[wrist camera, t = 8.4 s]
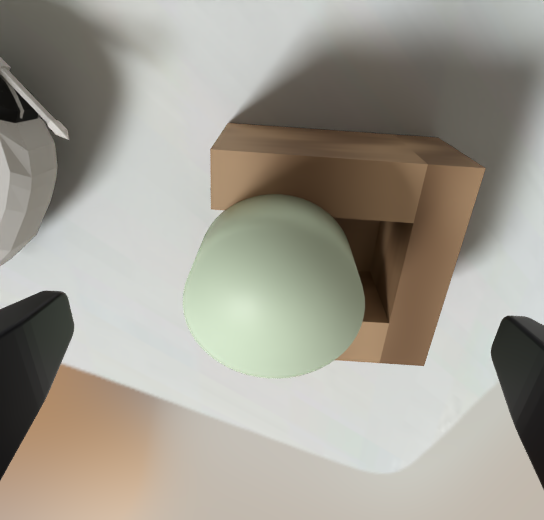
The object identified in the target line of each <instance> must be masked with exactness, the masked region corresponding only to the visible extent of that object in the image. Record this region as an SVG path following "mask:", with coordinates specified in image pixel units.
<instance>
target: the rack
mask: <svg viewBox="0 0 544 520" xmlns="http://www.w3.org/2000/svg"><path fill="white" fill-rule="evenodd" d="M210 151H211V209H214V210H227V209H228V208H229V207H231V206H233V205H234V204H236V203H238V202H240V201H243V200H245V199H248V198H251V197H255V196H259V195H267V194H283V195H290V196H295V197H298V198H302V199H305V200H307V201H310V202H312V203H314V204H316V205H317V206H319V207H321V208H322V209H323V210H325V211H326V212H327V213H329V214H330V215H331V216H332V217H333V218H334V219H335V220H336V221H337V223H338V224H339V225H340V227H341V228H342V230H343V231H344V233H345V235H346V237H347V240H348V242H349V245H350V248H351V251H352V255H353V258H354V261H355V264H356V267H357V271H358V274H359V277H360V280H361V283H362V287H363V291H364V296H365V311H364V318H363V321H362V325H361V328H360V330H359V332H358V334H357V336H356V338H355V339H354V341H353V342H352V344H351V345H350V346H349V347H348V348H347V350H346V351H345V352H344V353H343V354H341V355H340V356H339V357H338V358H337V359H335V360H342V361H357V362H372V363H388V364H403V365H418V366H424V364H425V361H426V358H427V355H428V351H429V348H430V345H431V342H432V338H433V335H434V332H435V329H436V326H437V322H438V319H439V316H440V313H441V310H442V306H443V303H444V300H445V297H446V294H447V290H448V287H449V284H450V281H451V278H452V274H453V271H454V268H455V265H456V262H457V258H458V255H459V252H460V249H461V246H462V242H463V239H464V236H465V233H466V230H467V226H468V223H469V220H470V217H471V214H472V210H473V207H474V204H475V201H476V198H477V194H478V191H479V188H480V185H481V182H482V178H483V175H484V172H485V169H486V168H484V167H483V166H481V165H480V164H478V163H477V162H475V161H474V160H472V159H471V158H469V157H467V156H466V155H464V154H463V153H461V152H460V151H458V150H457V149H455V148H454V147H452V146H450V145H449V144H447V143H446V142H444V141H443V140H441V139H440V138H438V137H423V136H409V135H395V134H380V133H366V132H351V131H337V130H323V129H308V128H294V127H279V126H265V125H251V124H236V123H228V124H227V125H226V127H225V128H224V130H223V131H222V133H221V134H220V136H219V137H218V139H217V140H216V142H215V143H214V145H213V146H212V148H211V149H210Z"/></svg>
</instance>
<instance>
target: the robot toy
mask: <svg viewBox="0 0 544 520" xmlns="http://www.w3.org/2000/svg"><path fill="white" fill-rule="evenodd" d="M10 68H11V67H10V66H9V65H8V64H7V63H6V62H5V61H4V60H3V59H2V58H1V57H0V266H1V265H3V264H4V263H6V262H7V261H9V260H10V259H11V258H12V257H14V256H15V255H16V254H17V253H18V252H19V251H20V250H21V249H22V248H23V247H24V246H25V245H26V244H27V243H28V242H29V241H30V240H31V239H33V238H34V237H35V236H36V234H37V232H38V230H39V227H40V225H41V222H42V220H43V218H44V215H45V213H46V211H47V208H48V206H49V204H50V201H51V198H52V194H53V190H54V186H55V182H56V177H57V168H58V166H57V157H56V148H55V142H54V140H53V138H52V136H51V134H50V132H49V131H48V129H47V127H46V125H45V123H44V121H43V120H42V119H40V118H39V117H38V114H39V115H40V116H41V117H42V118H43V119H44V120H45V121H46V122H47V123H48V125H47V126H48V127H49V128H50V129H51V130H52V131H53V132H54V133H55V134H56V135H58V136H60V137H63V138H66V139H68V140H69V135H68V130H67V129H66V128H65V127H64V126H63V125H62V124H61V122H60V121H58V120H55V119H54V118H53V116H52V115H51V114H50V113H49V112H48V111H47V110H46V109H45V108H44V107H43V106H42V105H41V104H40V103H39V102H38V101H37V100H36V99H35V98H34V97H33V96H32V95H31V94H30V92H29V91H28V90H27V89H26V88H25V87H24V86H23V85H22V84H21V83H20V82H19V81H18V80H17V79H16V78H15V77H14V76H13V75H12V74H11V73H10V72H9V70H10Z"/></svg>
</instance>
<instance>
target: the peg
mask: <svg viewBox="0 0 544 520" xmlns="http://www.w3.org/2000/svg"><path fill="white" fill-rule="evenodd" d="M183 310H184V316H185V319H186V323H187V326H188V328H189V330H190V332H191V334H192V336H193V337H194V339H195V340H196V342H197V343H198V344H199V345H200V347H201V348H202V349H203V350H204V351H205V352H206V353H207V354H208V355H210V356H211V357H212V358H214V359H215V360H216V361H218V362H219V363H221V364H223V365H224V366H226V367H228V368H230V369H232V370H235V371H237V372H240V373H243V374H246V375H251V376H255V377H262V378H290V377H295V376H301V375H304V374H308V373H311V372H313V371H316V370H318V369H320V368H322V367H324V366H326V365H328V364H330V363H331V362H332V361H334V360H335V359H337V358H338V357H339V356H340V355H341V354H343V353H344V352H345V351H346V350H347V348H348V347H349V346H350V345H351V344H352V342H353V341H354V339H355V338H356V336H357V334H358V332H359V330H360V328H361V325H362V321H363V318H364V311H365V296H364V291H363V287H362V283H361V280H360V277H359V274H358V271H357V267H356V264H355V261H354V258H353V255H352V251H351V248H350V245H349V242H348V240H347V237H346V235H345V233H344V231H343V230H342V228H341V227H340V225H339V224H338V223H337V221H336V220H335V219H334V218H333V217H332V216H331V215H330V214H329V213H327V212H326V211H325V210H323V209H322V208H321V207H319V206H317V205H316V204H314V203H312V202H310V201H307V200H305V199H302V198H298V197H295V196H290V195H283V194H267V195H259V196H255V197H251V198H248V199H245V200H243V201H240V202H238V203H236V204H234V205H233V206H231V207H229V208H228V209H227V210H225V211H224V212H222V213H221V214H220V215H219V216H218V217H217V218H216V219H215V220H214V222H213V223H212V224H211V226H210V227H209V229H208V230H207V232H206V234H205V236H204V239H203V241H202V244H201V246H200V248H199V251H198V253H197V256H196V258H195V261H194V263H193V266H192V268H191V271H190V273H189V276H188V278H187V281H186V284H185V288H184V293H183Z"/></svg>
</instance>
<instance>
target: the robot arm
mask: <svg viewBox="0 0 544 520" xmlns="http://www.w3.org/2000/svg"><path fill="white" fill-rule="evenodd" d="M73 332H74V322H73V318H72V313H71V309H70V305H69V301H68V297H67V295H66V294H65V293H64V292H61V291H42V292H39V293H37V294H35V295H32V296H30V297H28V298H25V299H23V300H21V301H18V302H16V303H14V304H11V305H9V306H7V307H5V308H2V309H0V480H1V478H2V476H3V475H4V473H5V471H6V469H7V467H8V466H9V464H10V462H11V460H12V459H13V457H14V455H15V453H16V451H17V449H18V448H19V446H20V444H21V442H22V441H23V439H24V437H25V435H26V433H27V432H28V430H29V428H30V426H31V424H32V423H33V421H34V419H35V417H36V416H37V414H38V412H39V410H40V408H41V406H42V404H43V403H44V400H45V399H46V397H47V394H48V392H49V390H50V388H51V385H52V383H53V381H54V378H55V376H56V374H57V371H58V369H59V366H60V364H61V362H62V359H63V357H64V355H65V352H66V350H67V348H68V345H69V343H70V341H71V338H72V336H73ZM491 357H492V361H493V364H494V367H495V370H496V373H497V376H498V379H499V382H500V385H501V387H502V391H503V393H504V397H505V400H506V403H507V405H508V408H509V411H510V414H511V417H512V420H513V422H514V425H515V428H516V430H517V432H518V435H519V437H520V439H521V441H522V443H523V446H524V448H525V450H526V452H527V454H528V456H529V459H530V461H531V463H532V465H533V467H534V469H535V472H536V474H537V476H538V478H539V480H540V482H541V485H542V487H543V489H544V325H542V324H540V323H538V322H536V321H534V320H532V319H531V318H528V317H525V316H506V317H504V318H503V319H502V321H501V323H500V326H499V329H498V331H497V334H496V336H495V339H494V342H493V344H492V348H491Z"/></svg>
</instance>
